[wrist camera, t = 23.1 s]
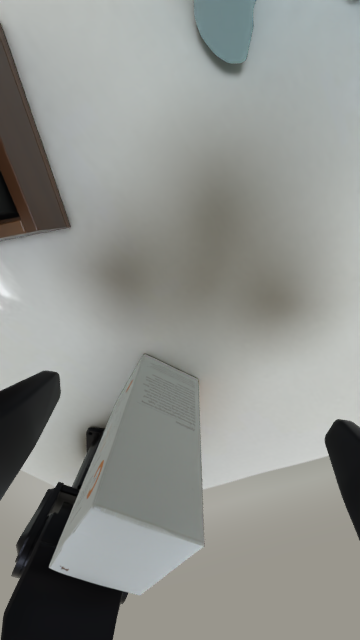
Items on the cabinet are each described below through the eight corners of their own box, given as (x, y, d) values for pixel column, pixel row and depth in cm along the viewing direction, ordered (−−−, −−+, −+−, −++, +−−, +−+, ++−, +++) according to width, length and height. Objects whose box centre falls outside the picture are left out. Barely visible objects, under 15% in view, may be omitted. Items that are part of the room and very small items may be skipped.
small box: (164, 426, 26) (140, 599, 15) (113, 404, 25) (43, 570, 14) (201, 378, 23) (207, 550, 11) (144, 351, 22) (87, 508, 10)
